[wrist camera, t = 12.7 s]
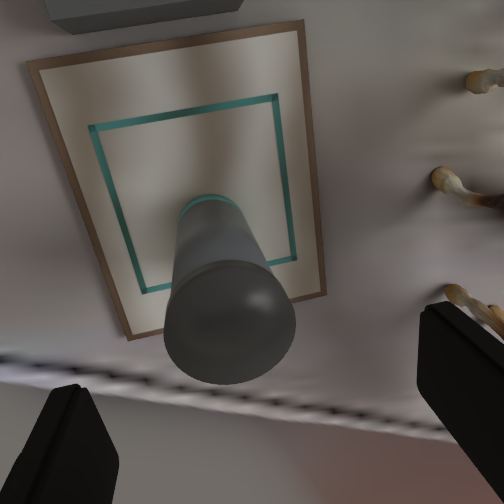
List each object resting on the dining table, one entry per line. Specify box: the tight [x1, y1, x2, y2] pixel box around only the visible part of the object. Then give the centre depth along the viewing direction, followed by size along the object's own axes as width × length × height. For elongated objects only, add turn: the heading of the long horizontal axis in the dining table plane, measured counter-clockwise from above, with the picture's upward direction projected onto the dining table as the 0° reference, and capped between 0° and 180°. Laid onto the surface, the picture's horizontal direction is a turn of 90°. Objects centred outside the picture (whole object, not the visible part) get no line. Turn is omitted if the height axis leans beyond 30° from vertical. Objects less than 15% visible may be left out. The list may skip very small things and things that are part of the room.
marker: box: [163, 194, 296, 385], centre depth 18 cm, size 5×5×12 cm
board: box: [26, 19, 327, 341], centre depth 23 cm, size 15×18×1 cm
